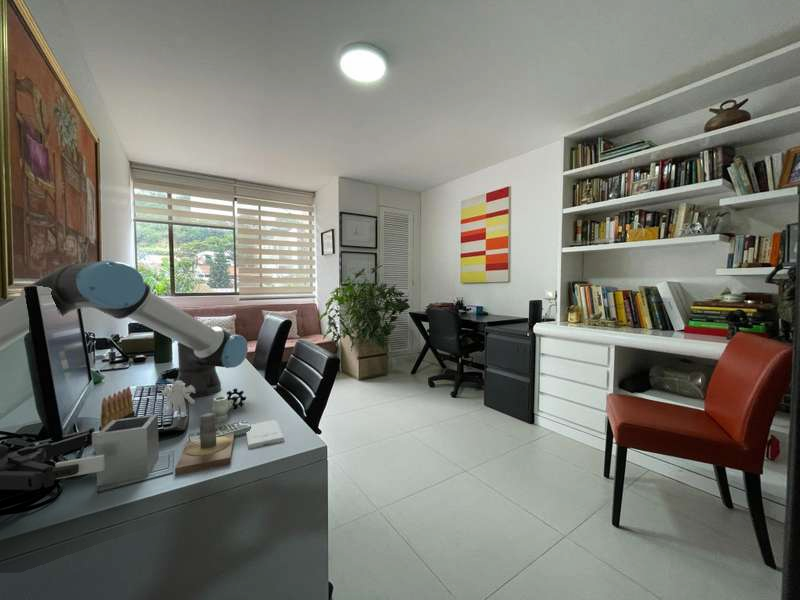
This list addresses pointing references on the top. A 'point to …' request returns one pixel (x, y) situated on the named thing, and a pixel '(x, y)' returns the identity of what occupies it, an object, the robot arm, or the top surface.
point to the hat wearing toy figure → (178, 395)
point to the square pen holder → (128, 449)
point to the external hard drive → (264, 433)
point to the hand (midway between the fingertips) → (118, 446)
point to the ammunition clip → (117, 408)
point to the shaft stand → (206, 448)
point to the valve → (226, 405)
